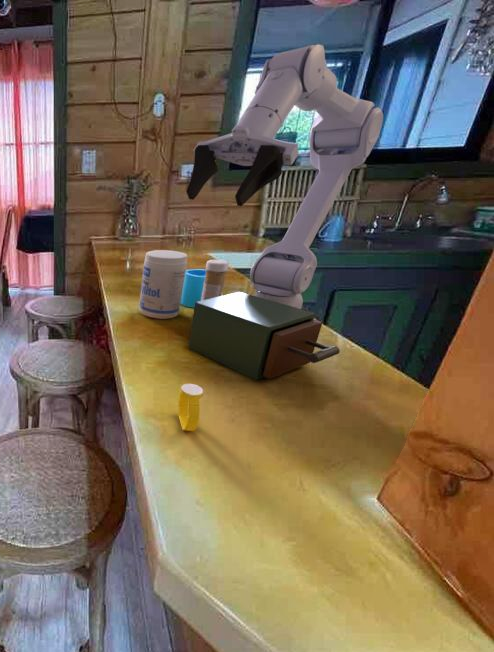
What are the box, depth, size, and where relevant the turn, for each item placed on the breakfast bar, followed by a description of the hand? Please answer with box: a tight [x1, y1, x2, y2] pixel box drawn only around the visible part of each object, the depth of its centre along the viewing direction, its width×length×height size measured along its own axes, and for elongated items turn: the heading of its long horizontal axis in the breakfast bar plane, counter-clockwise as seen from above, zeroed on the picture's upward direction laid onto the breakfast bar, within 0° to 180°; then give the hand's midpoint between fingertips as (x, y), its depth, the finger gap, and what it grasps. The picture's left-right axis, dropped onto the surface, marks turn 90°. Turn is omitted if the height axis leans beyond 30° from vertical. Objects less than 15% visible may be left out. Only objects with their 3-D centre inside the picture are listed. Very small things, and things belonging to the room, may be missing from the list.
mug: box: [180, 268, 206, 309], centre depth 99 cm, size 12×8×8 cm
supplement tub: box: [138, 249, 188, 320], centre depth 90 cm, size 10×10×15 cm
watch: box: [177, 383, 204, 432], centre depth 51 cm, size 6×3×6 cm, turn 171°
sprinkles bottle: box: [201, 259, 230, 301], centre depth 87 cm, size 5×5×13 cm
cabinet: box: [187, 291, 317, 381], centre depth 69 cm, size 15×13×10 cm
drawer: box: [262, 319, 341, 380], centre depth 66 cm, size 18×11×8 cm, turn 28°
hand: (212, 198), depth 56 cm, fingers open, 7 cm apart
